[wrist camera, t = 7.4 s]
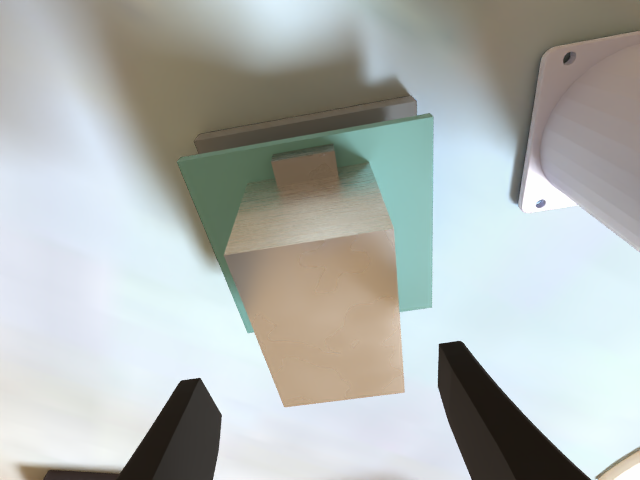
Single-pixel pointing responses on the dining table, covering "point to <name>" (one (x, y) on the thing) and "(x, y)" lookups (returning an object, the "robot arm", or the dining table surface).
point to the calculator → (78, 475)
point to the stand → (350, 148)
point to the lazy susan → (625, 469)
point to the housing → (320, 278)
